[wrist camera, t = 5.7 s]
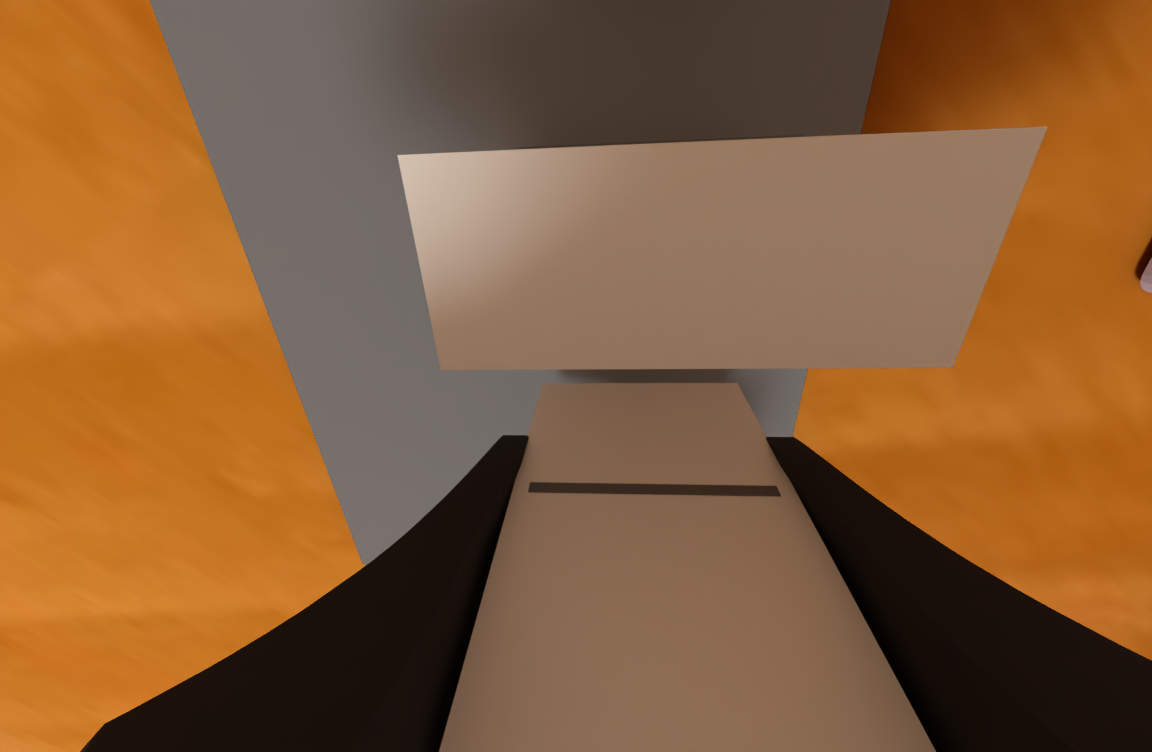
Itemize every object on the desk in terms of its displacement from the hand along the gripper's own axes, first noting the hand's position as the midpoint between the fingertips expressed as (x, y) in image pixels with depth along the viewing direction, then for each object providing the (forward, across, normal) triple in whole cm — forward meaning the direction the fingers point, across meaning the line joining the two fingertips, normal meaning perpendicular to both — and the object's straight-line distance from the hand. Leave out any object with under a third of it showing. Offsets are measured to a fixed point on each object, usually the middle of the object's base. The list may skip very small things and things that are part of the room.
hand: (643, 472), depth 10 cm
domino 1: (+4, 0, -6) cm, 7 cm away
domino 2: (+2, 0, 0) cm, 2 cm away
